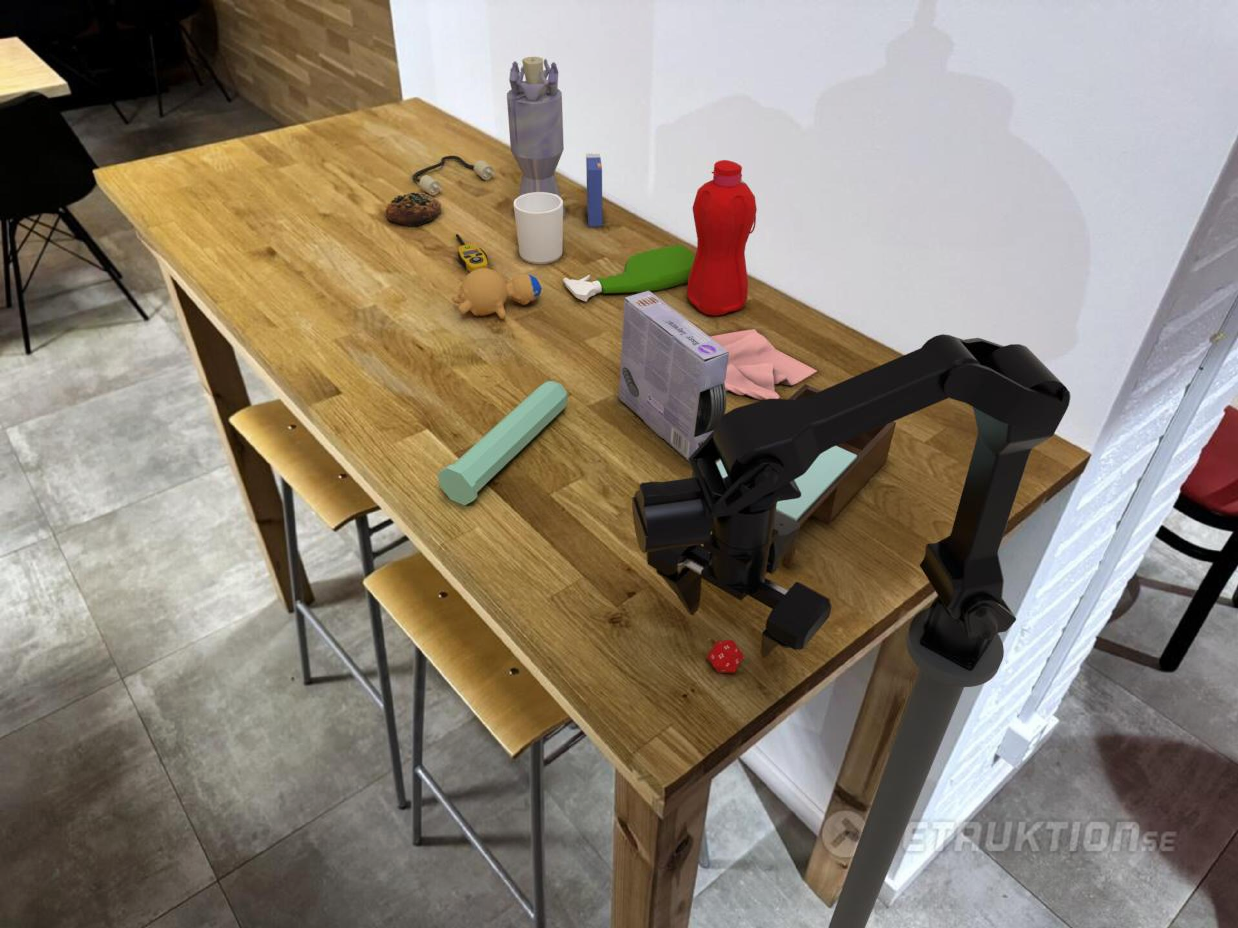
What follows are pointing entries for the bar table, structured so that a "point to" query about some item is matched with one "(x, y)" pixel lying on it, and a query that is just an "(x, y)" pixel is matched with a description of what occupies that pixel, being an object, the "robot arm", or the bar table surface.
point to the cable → (430, 183)
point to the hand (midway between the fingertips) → (729, 633)
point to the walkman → (594, 189)
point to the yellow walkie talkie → (471, 256)
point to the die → (725, 656)
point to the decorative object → (536, 124)
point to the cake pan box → (671, 373)
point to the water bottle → (721, 241)
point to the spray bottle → (641, 274)
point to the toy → (494, 292)
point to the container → (502, 443)
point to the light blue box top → (813, 480)
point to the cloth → (758, 365)
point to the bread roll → (413, 209)
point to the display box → (847, 471)
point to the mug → (539, 227)
